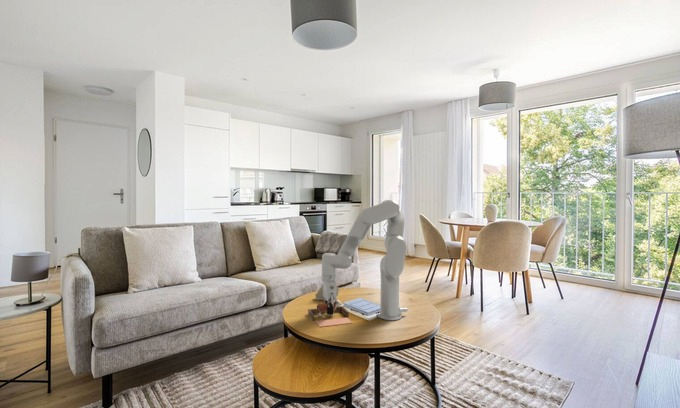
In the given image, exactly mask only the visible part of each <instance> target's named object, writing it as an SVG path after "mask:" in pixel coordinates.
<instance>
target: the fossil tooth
mask: <svg viewBox="0 0 680 408" xmlns="http://www.w3.org/2000/svg"><path fill="white" fill-rule="evenodd" d="M339 292H340V287H338V285H336V296H337V297H338V295H339ZM315 300H316V301H319V300H321V301H324V300H325V299H324V297H323V286H321V287H320V289H318V291H317V293H316V294H315ZM330 301H331V299H330Z"/></svg>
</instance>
